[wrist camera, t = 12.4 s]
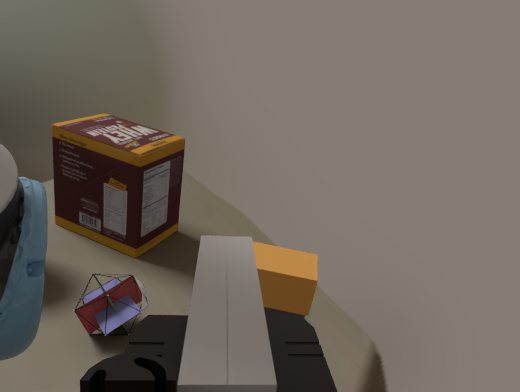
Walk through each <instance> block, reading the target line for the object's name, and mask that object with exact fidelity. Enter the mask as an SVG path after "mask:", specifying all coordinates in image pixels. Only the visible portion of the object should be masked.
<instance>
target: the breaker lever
mask: <svg viewBox="0 0 520 392" xmlns="http://www.w3.org/2000/svg"><path fill="white" fill-rule="evenodd" d="M252 242H253V241H252ZM253 248H254V254H255V260H256V265H257V271H258V277H259V283H260V289H261V295H262V301H263V306H264V312H265V315H299V316H302V317H303V318H305V315H306V316H309V312H310V308H311V304H312V300H313V297H314V293H315V289H316V285H317V281H318V277H317V276H318V270H317V267H318V265H317V255H316V254H311V253H307V252H302V251H297V250H291V249H287V248H282V247H277V246H272V245H267V244H262V243H258V242H253Z"/></svg>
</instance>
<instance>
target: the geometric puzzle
mask: <svg viewBox="0 0 520 392" xmlns="http://www.w3.org/2000/svg"><path fill="white" fill-rule="evenodd" d="M92 274H93V275H94V273H92ZM93 275H92V276H93ZM96 275H99V274H96ZM112 275H118V274H112ZM102 276H105V275H102ZM129 276H131V277H129V278H127V279H126V280H124V281H122V282H121V283H120V282H119V281H120V280H119V279H118V277H114V279H112V280H111V281H109V282H107V283H106V284H104V285H101V284H100V282H99V281H98V279H97V278H96V277H95V275H94V277H95V278H96V280H97V282H98V284H99V286H100V287H99V288H97V289H96V290H94V291H92V292H91V293H89V294H87V295H85V296H84V295H83V294H82V295H83V296H84V297H82V296H81V297H82V300H84V302H85V303H86V304H84V302H83V305H82V306H81V307H79V308H77V309H76V308H75V309H76V310H73V311H75V313H76V314H77V316H78V318H79V319H80V321H81V322H82V324H83V326H84V327H85V329H86V330H87V332H88V335H89V334H91V333H92V332H93V331H95V330H99V329H98V328H101V329H102V331H103V333H102V332H101V331H100V330H99V331H100V332H101V333H102V334H104V335H105V336H106V335H129V334H128V332H127V331H126V329H125V327H124V325H123V324H124V323H126V322H127V321H129V320H130V319H132V318H133V317H135V316H136V315H138V314H139V313H142V311H143V310H144V309H145V308H146V307H147V306H148V302H147V301H148V294H147V291H146V289H145V287H144V285H143V284H142V283H141V282H140V281H139V280H138V279H137V278H136V277H135V276H134V275H129ZM108 277H111V276H108ZM122 277H125V276H122ZM91 278H92V277H91ZM91 278H90V280H91ZM135 279H136V280H135ZM90 280H89V282H90ZM118 280H119V281H118ZM136 281H137V283H138V285H139V287H140V288H141V290H142V294H141V291H140V289H139V287H138V285H137V283H136ZM89 282H88V283H89ZM87 285H88V284H87ZM86 287H88V286H86ZM85 289H87V288H85ZM84 291H86V290H84ZM83 293H85V292H83ZM80 299H81V298H80ZM79 301H81V300H79ZM141 301H142V304H141V305H142V311H141V310H140V309H139V308H138V306H137V305H136V304H137V303H139V304H140V302H141ZM79 303H80V302H78V304H79ZM78 304H77V306H78ZM77 306H76V307H77ZM140 308H141V306H140ZM139 316H140V315H139ZM136 317H137V316H136ZM135 319H136V318H135ZM134 321H135V320H134ZM135 323H136V322H135ZM133 324H134V323H133ZM121 325H122V326H123V328H124V329H125V331H126V332H127V334H109V333H110V332H112V331H113V330H115V329H116V328H118V327H119V326H121ZM134 325H135V324H134ZM132 326H133V325H132ZM131 328H132V327H131ZM131 330H132V329H131ZM131 330H130V332H131ZM130 332H129V333H130ZM91 335H97V334H91Z"/></svg>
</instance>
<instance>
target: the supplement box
mask: <svg viewBox="0 0 520 392" xmlns="http://www.w3.org/2000/svg"><path fill="white" fill-rule="evenodd" d="M51 125H52V139H53V167H54V195H55V224H57V225H59V226H62V227H64V228H66V229H69V230H71V231H73V232H76V233H78V234H80V235H83V236H85V237H87V238H89V239H92V240H94V241H96V242H99V243H101V244H103V245H106V246H108V247H110V248H113V249H115V250H117V251H120V252H122V253H124V254H127V255H129V256H131V257H134V258H137V257H139V256H140V255H142V254H143V253H145V252H146V251H148V250H149V249H151V248H152V247H154V246H155V245H157V244H158V243H160V242H161V241H162V240H164V239H165V238H167V237H168V236H170V235H171V234H173V233H174V232H176V231H177V230H178V219H179V206H180V195H181V183H182V172H183V160H184V147H185V139H184V138H183V137H180V136H176V135H173V134H169V133H166V132H163V131H160V130H156V129H153V128H149V127H146V126H143V125H140V124H137V123H134V122H131V121H127V120H124V119H121V118H118V117H115V116H112V115H108V114H99V115H95V116H90V117H85V118H80V119H75V120H71V121H66V122H60V123H55V124H51Z"/></svg>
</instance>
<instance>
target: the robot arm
mask: <svg viewBox="0 0 520 392" xmlns="http://www.w3.org/2000/svg"><path fill="white" fill-rule="evenodd" d="M46 250H47V198H46V191H45V188H44V186H43V184H42V183H40V182H38V181H35V180H29V179H27V178H25V177H18V171H17V167H16V164H15V162H14V159H13V157H12V155H11V154H10V153H9V151H8V150H7V149H6V148H5V147H4V146H3V145H1V144H0V361H1V360H5V359H9V358H13V357H15V356H17V355H19V354H21V353H22V352H24V351H25V350H26V349H27V348H28V347H29V346H30V344H31V343H32V342H33V340H34V338H35V336H36V333H37V330H38V326H39V322H40V316H41V310H42V302H43V293H44V280H45V271H44V268H43V267H44V265H45V256H46ZM80 392H337V390H336V387H335V384H334V381H333V379H332V376H331V373H330V370H329V368H328V365H327V362H326V359H325V357H324V354H323V351H322V348H321V346H320V345H319V340H318V337H317V335H316V332H315V329H314V327H313V326H312V325H311V324H309V323H308V322H307V321H306V320H305V319H304V318H303V317H302V316H299V315H265V312H264V306H263V301H262V295H261V289H260V283H259V277H258V271H257V265H256V260H255V254H254V248H253V242H252V237H237V236H204V235H201V240H200V246H199V253H198V259H197V265H196V271H195V278H194V284H193V290H192V297H191V303H190V309H189V315H188V316H185V315H148V316H147V317H145V318H144V319H143V320H142V321H141V322H140V323H139V324H137V325H136V326H135V327H134V329H133V332H132V335H131V337H130V340H129V345H127V348H126V351H125V353H124V354H119V355H116V356H113V357H110V358H107V359H104V360H102V361H101V362H99V363H97V364H96V365H94V366H93V367H91V368H90V369H89V370H88V371H87V372H86V373H85V375H84V376H83V377H82V378H81V380H80Z"/></svg>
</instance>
